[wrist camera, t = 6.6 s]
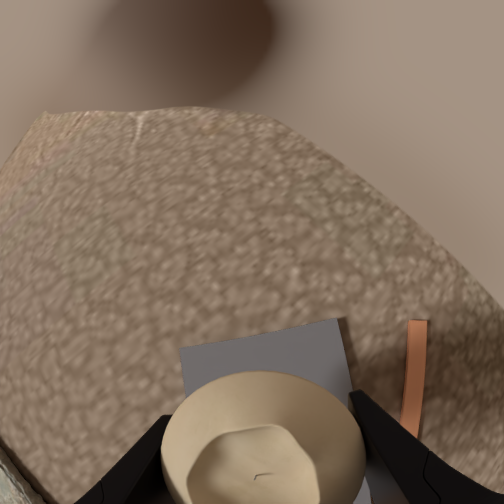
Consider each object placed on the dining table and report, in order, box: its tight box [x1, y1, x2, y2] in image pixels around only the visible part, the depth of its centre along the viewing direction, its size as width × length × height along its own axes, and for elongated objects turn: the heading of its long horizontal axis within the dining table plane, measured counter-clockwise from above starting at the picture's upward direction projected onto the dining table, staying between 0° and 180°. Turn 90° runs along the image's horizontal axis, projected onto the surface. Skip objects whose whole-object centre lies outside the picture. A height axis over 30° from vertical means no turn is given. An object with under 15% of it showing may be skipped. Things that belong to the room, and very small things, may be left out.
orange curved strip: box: [399, 320, 427, 438], centre depth 17 cm, size 18×2×1 cm, turn 172°
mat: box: [179, 318, 371, 504], centre depth 19 cm, size 16×12×1 cm
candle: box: [161, 370, 366, 504], centre depth 10 cm, size 6×6×10 cm
